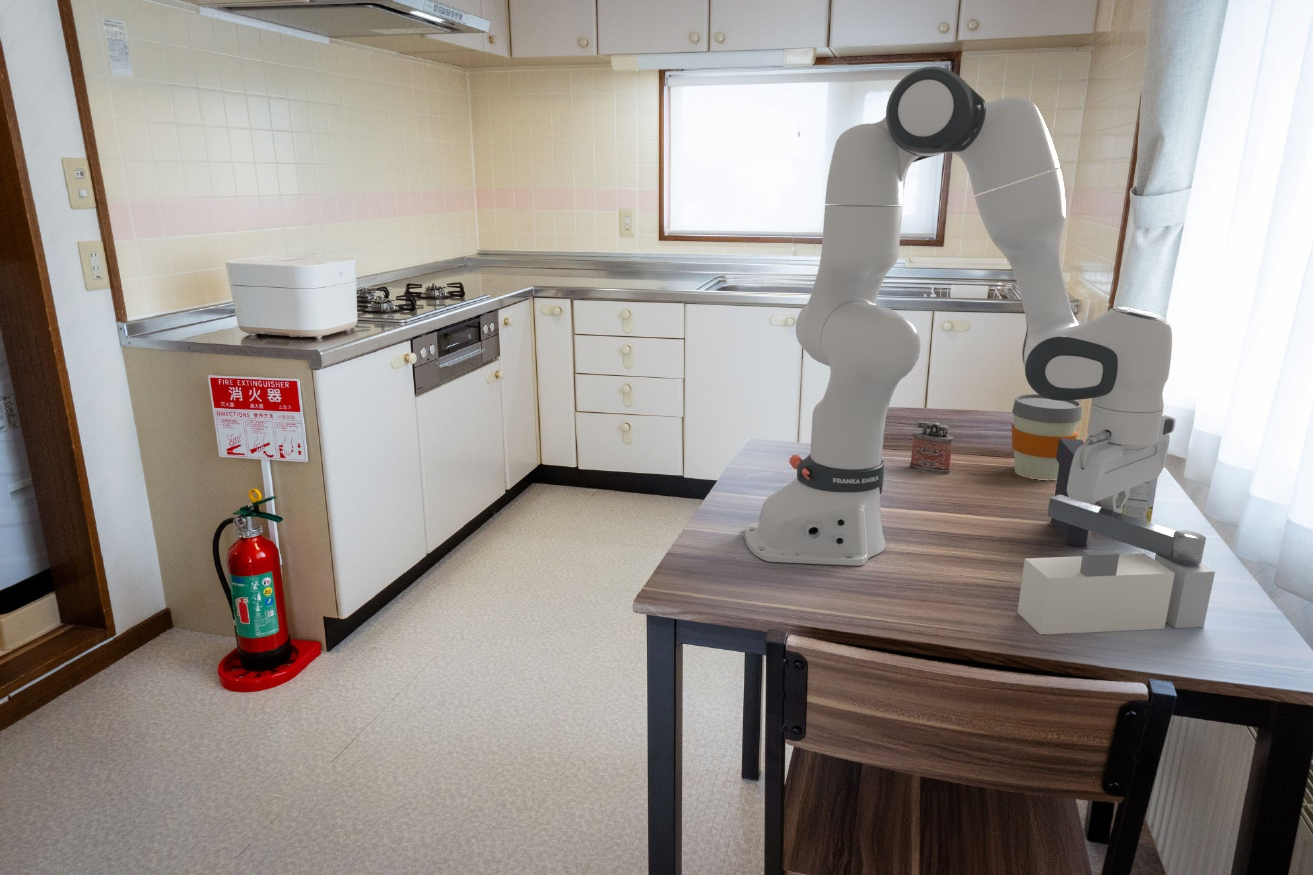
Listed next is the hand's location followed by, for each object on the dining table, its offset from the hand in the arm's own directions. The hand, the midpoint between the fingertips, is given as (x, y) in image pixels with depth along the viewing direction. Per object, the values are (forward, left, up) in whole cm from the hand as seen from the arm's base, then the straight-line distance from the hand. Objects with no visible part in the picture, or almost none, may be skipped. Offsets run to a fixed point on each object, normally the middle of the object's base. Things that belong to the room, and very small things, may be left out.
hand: (1110, 517), depth 123 cm
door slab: (-9, -11, -10) cm, 17 cm away
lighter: (-5, +51, -10) cm, 52 cm away
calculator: (+5, +17, -10) cm, 20 cm away
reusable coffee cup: (+16, +47, -10) cm, 51 cm away
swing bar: (-1, -4, -1) cm, 4 cm away
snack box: (+20, +26, -10) cm, 34 cm away
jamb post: (+3, -11, -10) cm, 15 cm away
